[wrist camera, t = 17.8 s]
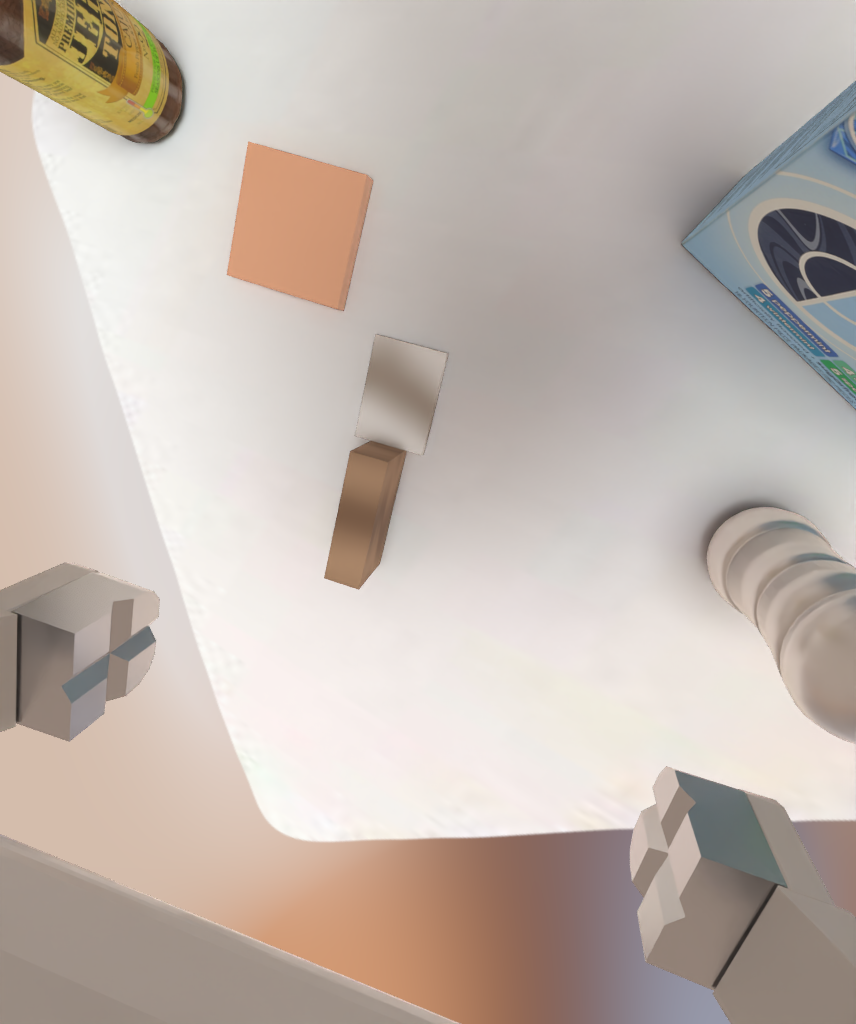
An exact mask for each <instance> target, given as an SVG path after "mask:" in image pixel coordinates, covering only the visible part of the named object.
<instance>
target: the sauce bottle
mask: <svg viewBox="0 0 856 1024" xmlns="http://www.w3.org/2000/svg"><path fill="white" fill-rule="evenodd" d="M0 72H2V73H4V74H6V75H7V76H9V77H11V78H13V79H15V80H17V81H19V82H20V83H22V84H24V85H26V86H28V87H30V88H32V89H33V90H35V91H37V92H39V93H41V94H43V95H44V96H46V97H48V98H50V99H52V100H53V101H55V102H57V103H59V104H61V105H63V106H65V107H67V108H68V109H70V110H72V111H74V112H76V113H77V114H79V115H81V116H83V117H84V118H86V119H88V120H90V121H92V122H94V123H96V124H97V125H99V126H101V127H103V128H105V129H107V130H108V131H110V132H113V133H115V134H118V135H121V136H123V137H125V138H126V139H128V140H130V141H133V142H139V143H140V142H145V143H151V142H156V141H158V140H159V139H161V138H162V137H164V136H166V135H168V133H169V132H170V131H171V129H172V128H173V127H174V124H175V122H176V121H177V119H178V117H179V115H180V112H181V104H182V86H183V84H182V78H181V74H180V71H179V69H178V67H177V65H176V63H175V61H174V60H173V58H172V56H171V55H170V53H169V52H168V50H167V49H166V48H165V46H164V45H163V44H162V43H161V42H160V41H159V40H158V39H156V38H155V37H154V35H153V34H152V33H151V32H150V31H149V30H148V29H147V28H146V27H145V26H144V25H142V24H141V23H140V22H139V21H138V20H136V19H135V18H134V17H133V16H132V15H131V14H129V13H128V12H127V11H126V10H125V9H123V8H122V7H121V6H120V5H119V4H118V3H116V2H115V1H114V0H0Z"/></svg>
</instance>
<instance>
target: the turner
mask: <svg viewBox="0 0 856 1024" xmlns="http://www.w3.org/2000/svg"><path fill="white" fill-rule="evenodd" d="M448 355H449V353H445V352H441V351H437V350H434V349H430V348H426V347H422V346H419V345H415V344H411V343H407V342H404V341H400V340H396V339H392V338H389V337H385V336H381V335H376V334H375V339H374V344H373V349H372V354H371V359H370V364H369V368H368V373H367V378H366V383H365V388H364V393H363V397H362V402H361V407H360V412H359V417H358V422H357V427H356V431H355V436H357V437H360V438H363V439H367V440H370V442H368V443H366V444H364V445H362V446H360V447H358V448H356V449H354V450H352V451H350V455H349V460H348V465H347V470H346V475H345V479H344V484H343V489H342V494H341V499H340V504H339V509H338V514H337V518H336V523H335V528H334V533H333V538H332V543H331V548H330V552H329V557H328V562H327V567H326V572H325V577H324V578H325V579H328V580H331V581H334V582H337V583H340V584H343V585H347V586H350V587H353V588H356V589H360V587H361V586H362V585H363V584H364V582H365V581H366V580H367V579H368V577H369V576H370V575H371V574H372V572H373V571H374V570H375V569H376V568H377V566H378V565H379V564H380V561H381V557H382V552H383V548H384V544H385V540H386V536H387V531H388V527H389V523H390V519H391V515H392V510H393V506H394V502H395V498H396V494H397V489H398V485H399V481H400V477H401V473H402V468H403V464H404V460H405V456H406V452H407V451H408V452H411V453H415V454H418V455H423V454H424V452H425V448H426V444H427V440H428V436H429V432H430V428H431V424H432V420H433V416H434V412H435V408H436V404H437V400H438V396H439V392H440V388H441V383H442V379H443V375H444V371H445V367H446V363H447V359H448Z"/></svg>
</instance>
